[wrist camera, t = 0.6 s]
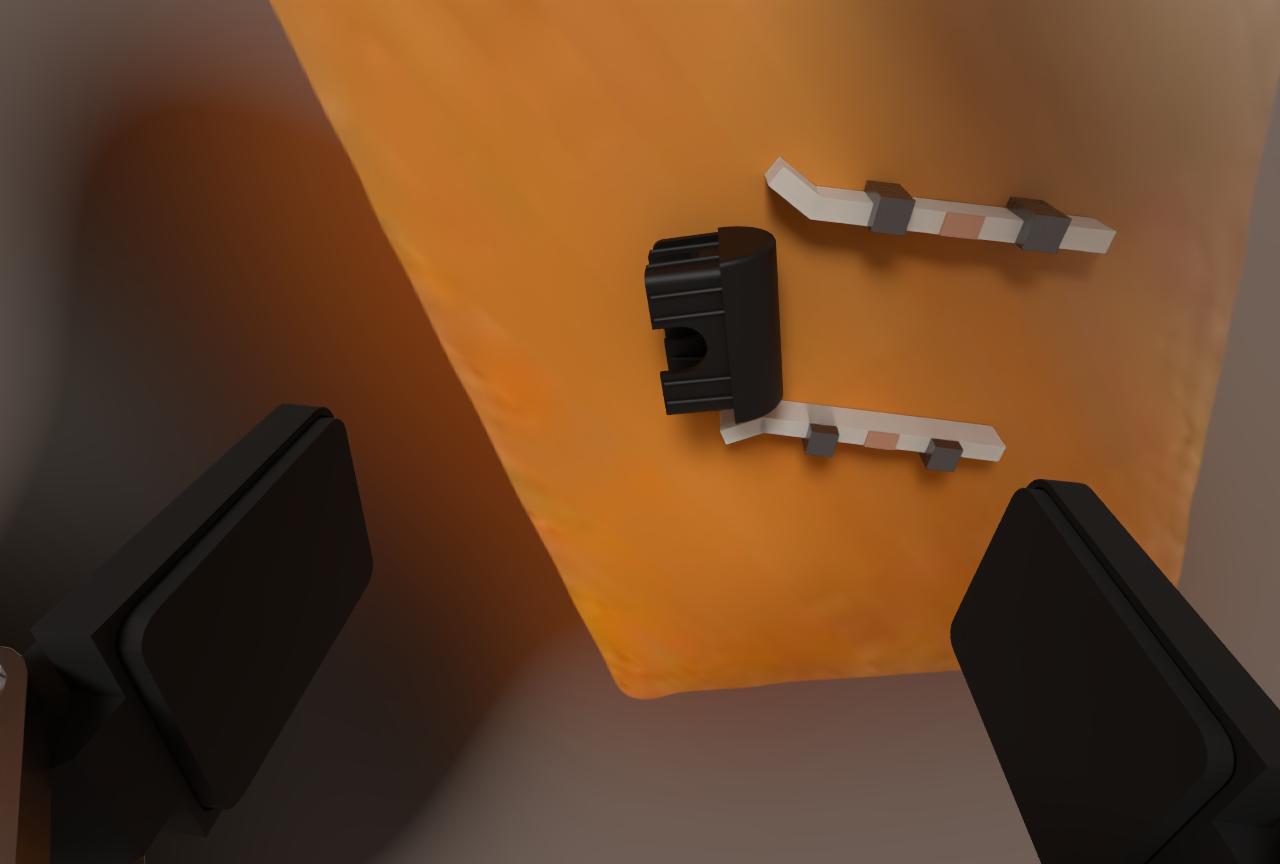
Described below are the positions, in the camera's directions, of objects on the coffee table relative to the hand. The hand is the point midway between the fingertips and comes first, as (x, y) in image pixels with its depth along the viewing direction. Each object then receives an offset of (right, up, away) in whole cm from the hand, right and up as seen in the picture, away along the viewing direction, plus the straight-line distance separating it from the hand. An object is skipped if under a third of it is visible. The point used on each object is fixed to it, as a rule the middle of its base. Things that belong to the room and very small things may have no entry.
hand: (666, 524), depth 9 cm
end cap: (+5, +10, +32) cm, 34 cm away
